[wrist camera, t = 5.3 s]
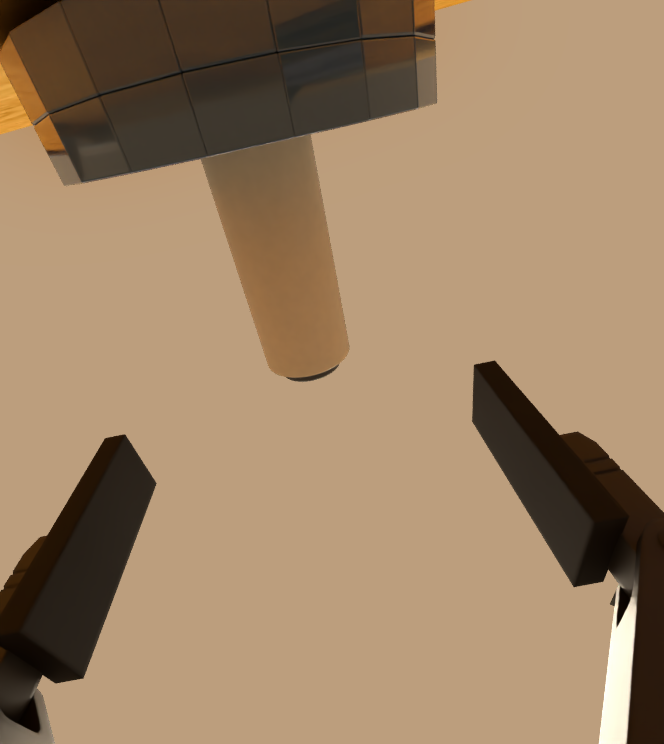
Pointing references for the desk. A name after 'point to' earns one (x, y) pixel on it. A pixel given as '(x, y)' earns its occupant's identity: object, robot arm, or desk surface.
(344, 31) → the bowl
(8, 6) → the desk surface
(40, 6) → the desk surface
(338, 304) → the pepper mill
